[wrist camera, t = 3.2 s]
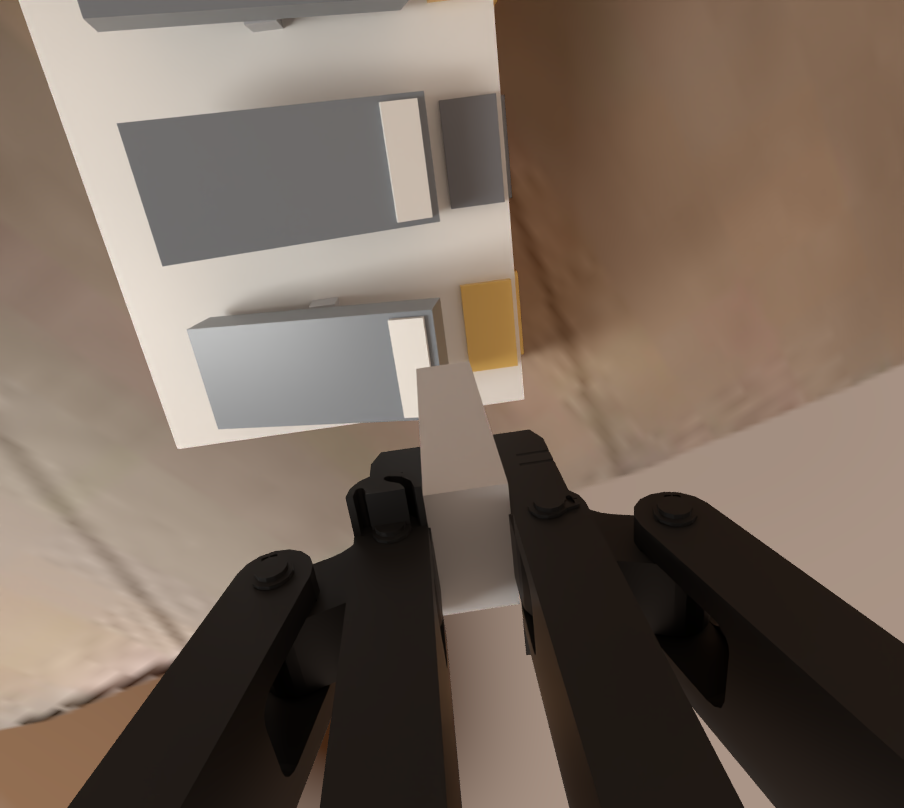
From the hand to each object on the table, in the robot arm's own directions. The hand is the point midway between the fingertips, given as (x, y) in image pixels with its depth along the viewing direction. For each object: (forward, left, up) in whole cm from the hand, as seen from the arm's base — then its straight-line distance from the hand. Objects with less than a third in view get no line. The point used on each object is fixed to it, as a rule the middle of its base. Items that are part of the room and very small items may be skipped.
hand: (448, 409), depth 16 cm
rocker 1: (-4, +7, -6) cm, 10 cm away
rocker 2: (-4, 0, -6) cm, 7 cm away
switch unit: (-4, +7, -13) cm, 15 cm away
